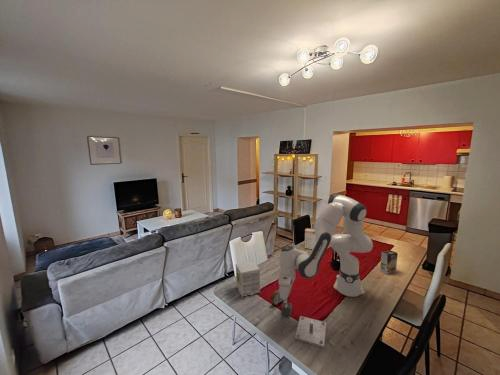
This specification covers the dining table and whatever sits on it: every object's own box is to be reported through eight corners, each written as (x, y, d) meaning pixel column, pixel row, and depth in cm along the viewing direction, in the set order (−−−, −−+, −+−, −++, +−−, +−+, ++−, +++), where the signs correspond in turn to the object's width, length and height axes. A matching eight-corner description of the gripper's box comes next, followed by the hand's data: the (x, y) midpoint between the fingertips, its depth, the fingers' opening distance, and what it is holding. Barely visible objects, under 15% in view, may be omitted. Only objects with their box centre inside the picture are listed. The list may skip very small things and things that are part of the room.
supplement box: (236, 286, 156) (235, 263, 154) (253, 282, 161) (253, 260, 158) (241, 298, 144) (241, 272, 142) (260, 293, 148) (260, 268, 146)
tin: (287, 295, 145) (287, 283, 144) (290, 298, 143) (290, 285, 142) (270, 305, 137) (269, 292, 135) (273, 308, 134) (273, 295, 133)
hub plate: (300, 317, 125) (300, 311, 125) (326, 324, 120) (326, 317, 119) (294, 339, 111) (294, 332, 110) (324, 348, 105) (324, 340, 105)
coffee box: (387, 275, 167) (388, 254, 165) (379, 270, 173) (381, 251, 171) (396, 272, 170) (397, 253, 167) (388, 268, 176) (390, 249, 173)
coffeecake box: (321, 248, 216) (321, 229, 213) (320, 251, 209) (321, 231, 206) (305, 246, 222) (306, 227, 219) (304, 249, 215) (304, 230, 213)
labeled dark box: (283, 309, 132) (283, 300, 132) (291, 311, 131) (291, 302, 130) (281, 315, 128) (281, 305, 127) (290, 317, 126) (290, 307, 125)
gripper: (285, 265, 136) (285, 286, 137) (277, 283, 117) (277, 307, 119) (296, 267, 133) (295, 288, 135) (289, 285, 114) (289, 309, 116)
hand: (287, 297), depth 127 cm, fingers open, 8 cm apart
